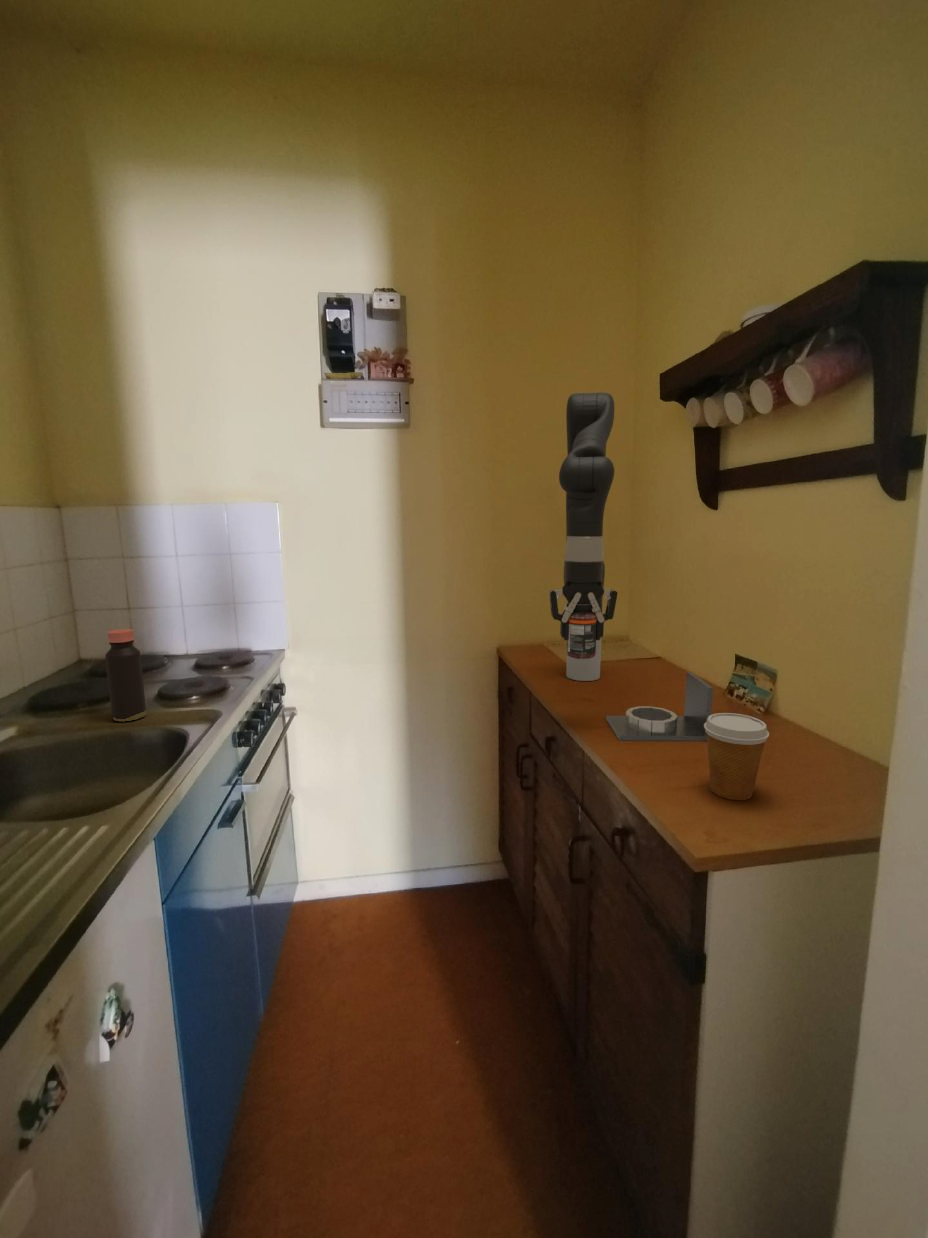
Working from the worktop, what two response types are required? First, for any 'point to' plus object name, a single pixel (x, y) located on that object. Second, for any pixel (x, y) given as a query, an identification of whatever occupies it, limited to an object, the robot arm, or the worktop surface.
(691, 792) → the worktop surface
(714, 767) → the disposable coffee cup
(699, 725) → the cup bracket
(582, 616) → the supplement bottle
